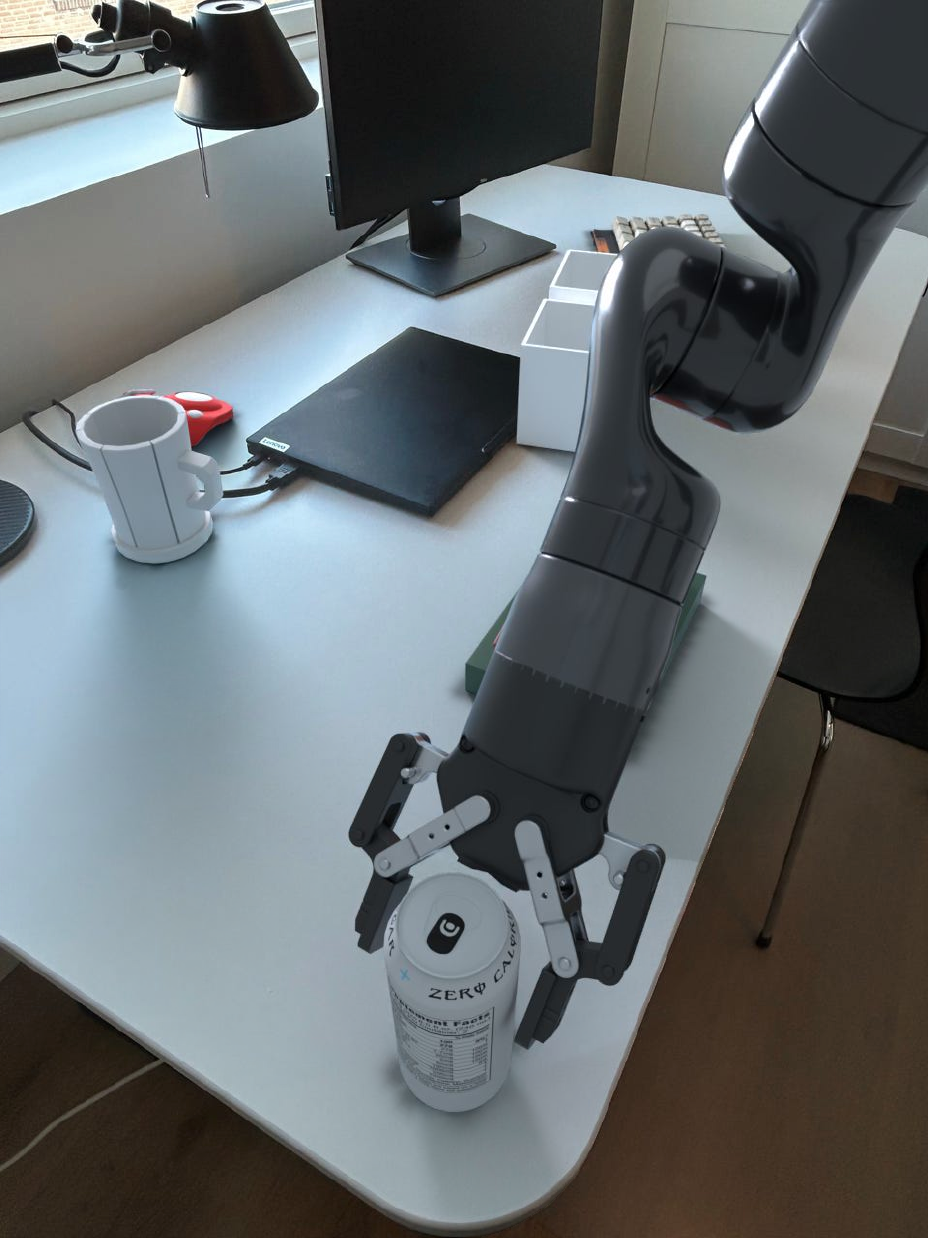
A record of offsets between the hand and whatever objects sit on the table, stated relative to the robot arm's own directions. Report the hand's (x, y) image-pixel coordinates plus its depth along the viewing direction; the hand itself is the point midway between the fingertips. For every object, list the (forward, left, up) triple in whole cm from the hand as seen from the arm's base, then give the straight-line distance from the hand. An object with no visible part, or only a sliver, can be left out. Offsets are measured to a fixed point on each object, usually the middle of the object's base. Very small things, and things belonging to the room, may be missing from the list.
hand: (445, 992), depth 41 cm
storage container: (-32, -66, -9) cm, 74 cm away
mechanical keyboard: (-54, -92, -9) cm, 108 cm away
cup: (+14, -51, -9) cm, 54 cm away
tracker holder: (+13, -71, -9) cm, 73 cm away
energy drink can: (0, 0, -9) cm, 9 cm away
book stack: (-18, -28, -9) cm, 35 cm away
